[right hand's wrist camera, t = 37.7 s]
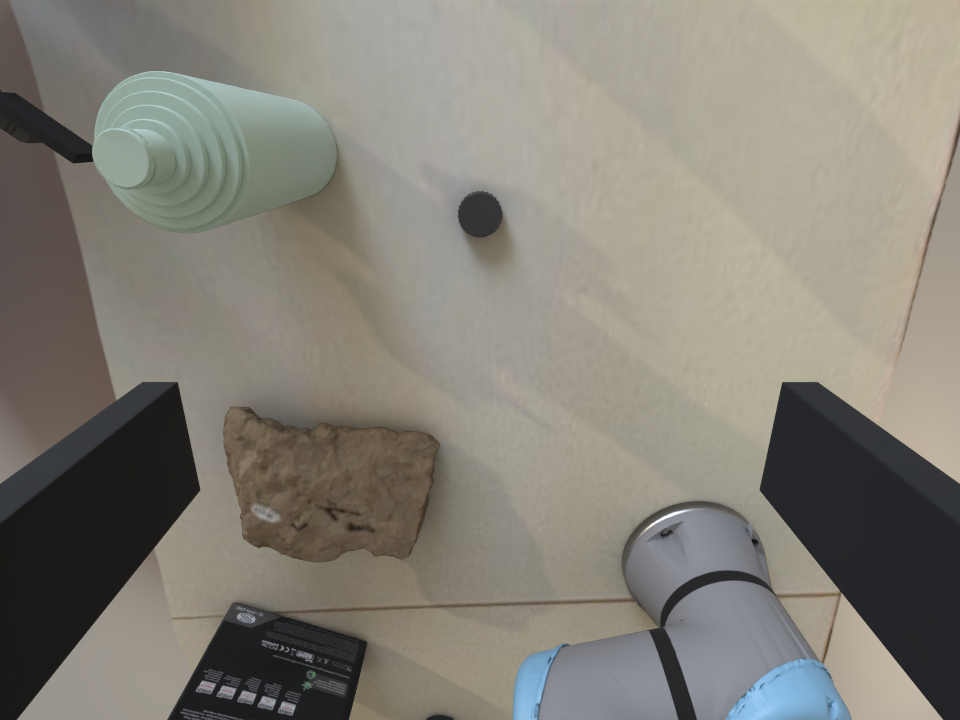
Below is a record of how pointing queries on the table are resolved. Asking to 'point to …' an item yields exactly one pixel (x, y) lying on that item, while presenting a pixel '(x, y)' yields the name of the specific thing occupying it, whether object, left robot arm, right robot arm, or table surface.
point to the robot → (439, 718)
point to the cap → (480, 214)
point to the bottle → (208, 150)
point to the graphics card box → (272, 671)
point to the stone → (328, 486)
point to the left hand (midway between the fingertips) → (128, 73)
